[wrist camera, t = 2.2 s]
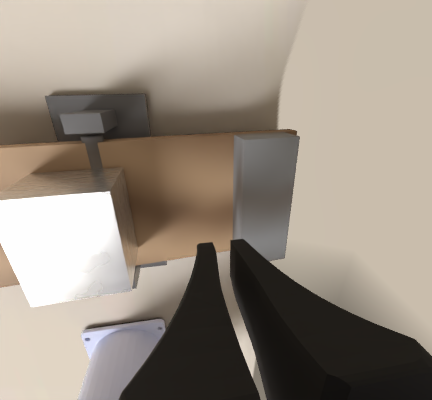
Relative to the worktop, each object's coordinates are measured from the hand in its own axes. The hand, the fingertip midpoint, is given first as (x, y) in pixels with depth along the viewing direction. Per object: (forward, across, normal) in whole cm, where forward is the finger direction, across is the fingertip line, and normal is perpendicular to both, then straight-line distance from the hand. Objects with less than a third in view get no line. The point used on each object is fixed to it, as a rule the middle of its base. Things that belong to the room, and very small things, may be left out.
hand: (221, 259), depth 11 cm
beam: (+6, +6, 0) cm, 9 cm away
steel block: (+6, +8, 0) cm, 9 cm away
